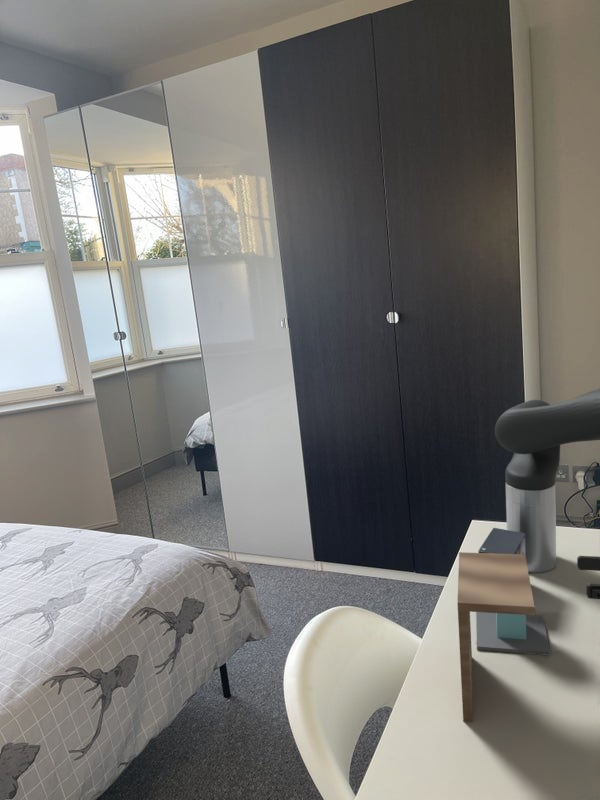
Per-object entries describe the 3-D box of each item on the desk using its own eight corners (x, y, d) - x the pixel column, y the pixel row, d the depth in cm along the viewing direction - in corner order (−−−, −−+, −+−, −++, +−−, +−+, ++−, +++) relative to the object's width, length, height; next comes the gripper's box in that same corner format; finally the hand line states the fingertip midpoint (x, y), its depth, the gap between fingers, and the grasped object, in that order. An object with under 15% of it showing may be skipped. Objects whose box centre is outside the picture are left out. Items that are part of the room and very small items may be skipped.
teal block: (496, 621, 103) (494, 557, 101) (524, 623, 102) (522, 558, 100) (497, 637, 99) (495, 571, 97) (526, 639, 98) (525, 572, 95)
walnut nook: (464, 656, 96) (459, 552, 92) (527, 661, 94) (525, 554, 90) (463, 720, 83) (457, 602, 79) (536, 728, 81) (534, 606, 77)
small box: (515, 610, 107) (513, 556, 105) (478, 603, 111) (476, 550, 108) (527, 582, 116) (526, 531, 113) (493, 575, 119) (491, 526, 117)
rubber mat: (476, 614, 107) (476, 611, 107) (542, 618, 104) (542, 615, 104) (476, 649, 98) (476, 646, 98) (550, 655, 95) (549, 651, 94)
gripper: (684, 537, 97) (574, 534, 101) (718, 585, 83) (590, 578, 88) (682, 579, 99) (574, 574, 103) (715, 632, 85) (589, 623, 90)
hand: (582, 576), depth 95 cm, fingers open, 8 cm apart
